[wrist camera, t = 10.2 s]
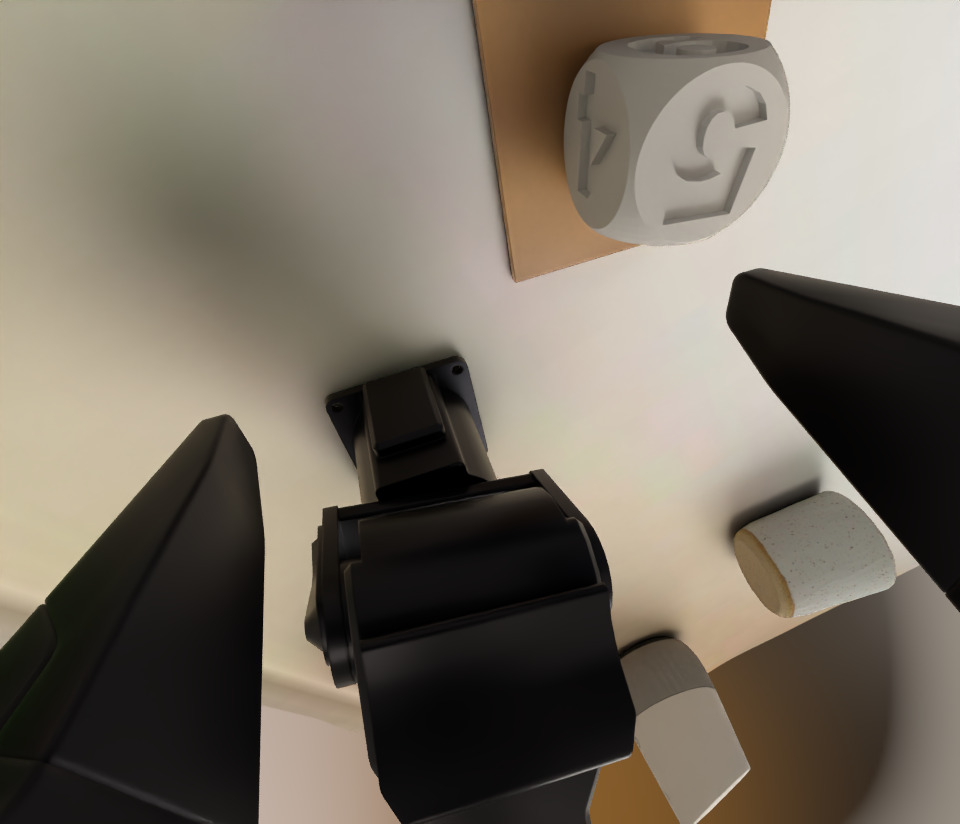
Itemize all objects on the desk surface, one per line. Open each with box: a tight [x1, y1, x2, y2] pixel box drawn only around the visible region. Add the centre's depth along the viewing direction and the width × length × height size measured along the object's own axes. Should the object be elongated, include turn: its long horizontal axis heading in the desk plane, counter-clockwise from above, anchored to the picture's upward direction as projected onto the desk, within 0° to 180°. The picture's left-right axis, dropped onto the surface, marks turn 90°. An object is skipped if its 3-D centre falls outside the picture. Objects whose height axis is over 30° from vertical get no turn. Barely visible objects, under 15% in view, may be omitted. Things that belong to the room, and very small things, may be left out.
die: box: [564, 33, 790, 246], centre depth 17 cm, size 5×5×5 cm
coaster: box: [472, 0, 772, 283], centre depth 19 cm, size 10×10×1 cm
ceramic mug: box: [734, 491, 896, 618], centre depth 40 cm, size 11×8×8 cm
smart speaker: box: [620, 637, 750, 824], centre depth 49 cm, size 10×9×14 cm
